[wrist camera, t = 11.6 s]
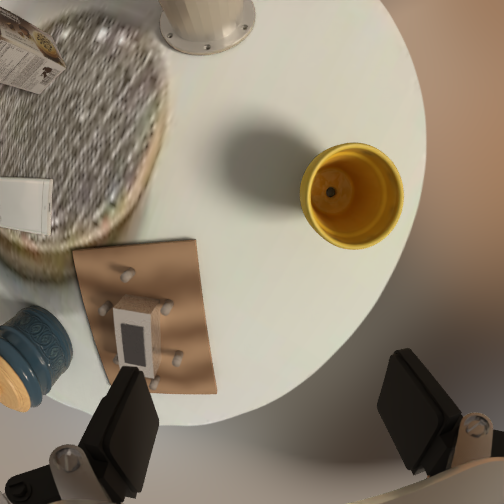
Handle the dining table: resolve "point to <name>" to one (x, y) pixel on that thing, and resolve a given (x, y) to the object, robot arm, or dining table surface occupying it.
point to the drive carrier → (138, 333)
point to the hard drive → (26, 204)
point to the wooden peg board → (171, 308)
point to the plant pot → (352, 195)
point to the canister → (31, 357)
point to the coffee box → (27, 54)
